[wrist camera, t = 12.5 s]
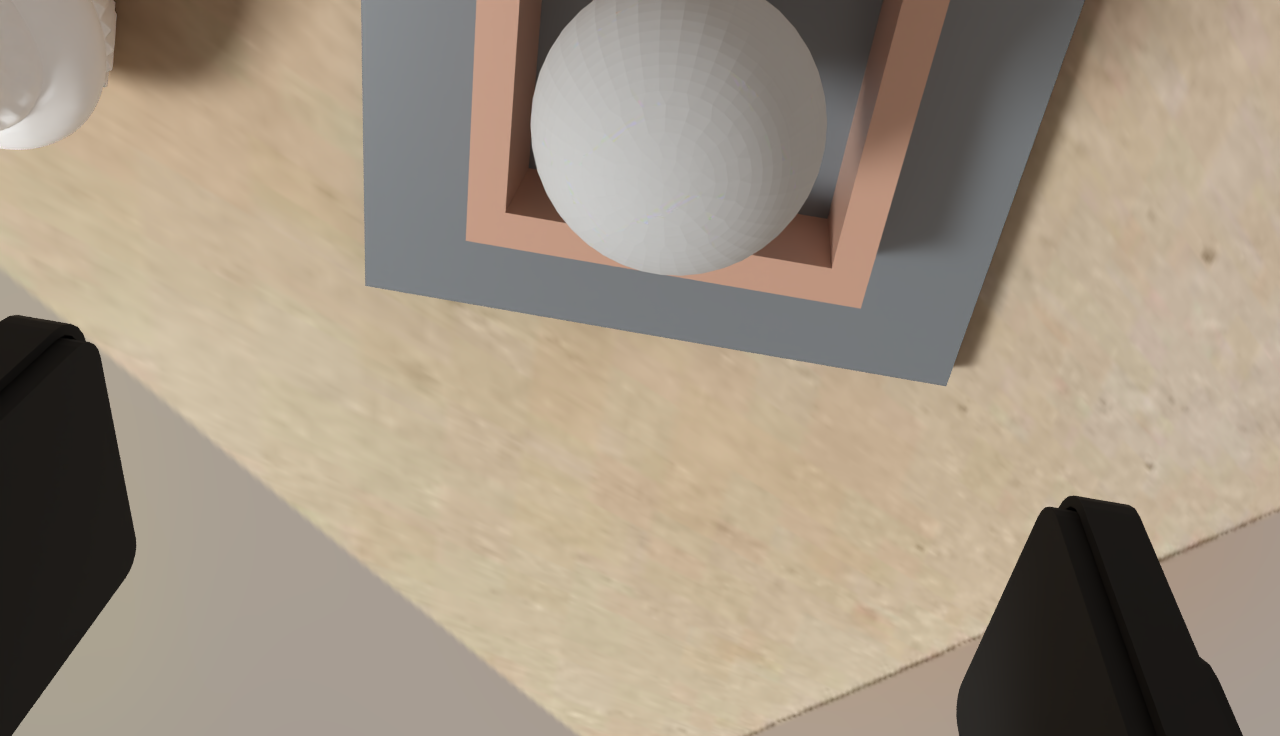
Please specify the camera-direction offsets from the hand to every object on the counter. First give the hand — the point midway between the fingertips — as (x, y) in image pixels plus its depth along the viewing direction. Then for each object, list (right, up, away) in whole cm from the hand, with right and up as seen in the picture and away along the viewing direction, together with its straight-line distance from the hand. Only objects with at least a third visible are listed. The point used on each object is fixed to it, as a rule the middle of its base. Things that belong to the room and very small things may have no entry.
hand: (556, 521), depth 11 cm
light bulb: (+2, +10, +17) cm, 20 cm away
